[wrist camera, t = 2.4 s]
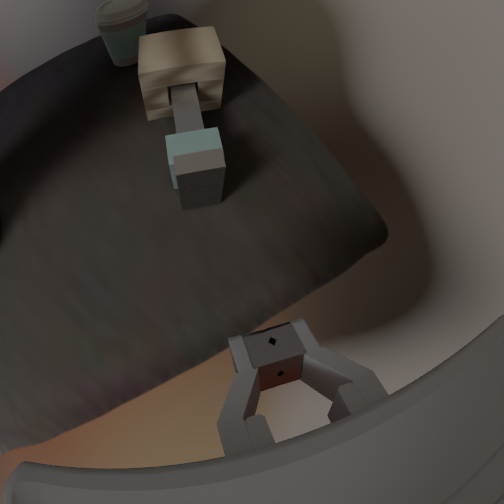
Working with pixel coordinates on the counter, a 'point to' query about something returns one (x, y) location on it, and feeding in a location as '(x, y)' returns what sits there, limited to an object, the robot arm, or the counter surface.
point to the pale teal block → (191, 145)
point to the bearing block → (180, 68)
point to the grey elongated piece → (195, 154)
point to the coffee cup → (122, 28)
